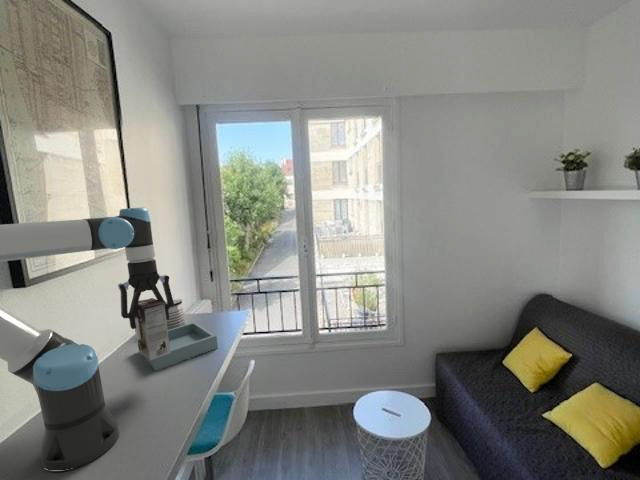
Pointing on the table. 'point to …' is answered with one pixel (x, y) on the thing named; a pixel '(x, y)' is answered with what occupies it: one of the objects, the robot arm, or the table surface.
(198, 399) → the table surface
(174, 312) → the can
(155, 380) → the table surface
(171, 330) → the bin
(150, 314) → the coffee box
